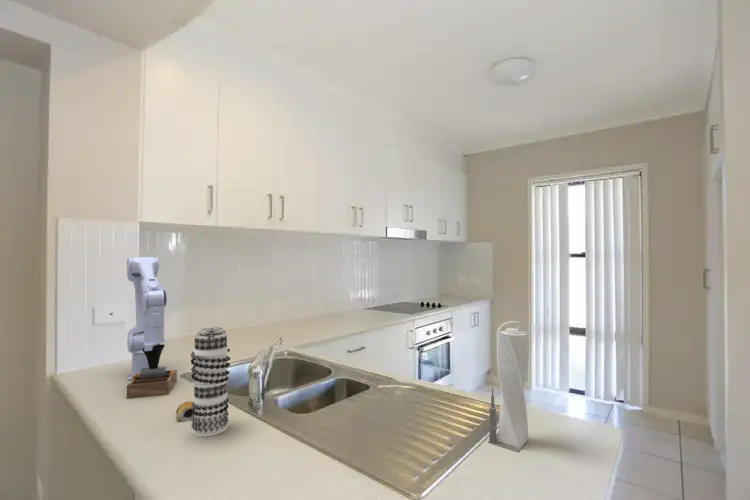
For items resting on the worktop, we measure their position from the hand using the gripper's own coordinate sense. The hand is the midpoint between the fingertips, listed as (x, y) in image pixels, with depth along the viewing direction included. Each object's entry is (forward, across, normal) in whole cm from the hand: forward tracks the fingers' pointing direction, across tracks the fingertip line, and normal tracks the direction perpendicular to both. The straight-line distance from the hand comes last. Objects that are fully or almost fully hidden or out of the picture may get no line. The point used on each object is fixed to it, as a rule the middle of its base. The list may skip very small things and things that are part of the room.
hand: (153, 368), depth 123 cm
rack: (+7, 0, 0) cm, 7 cm away
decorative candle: (+7, +37, +21) cm, 43 cm away
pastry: (+7, +26, +14) cm, 31 cm away
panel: (+6, 0, 0) cm, 6 cm away
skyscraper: (+8, +66, +89) cm, 111 cm away
